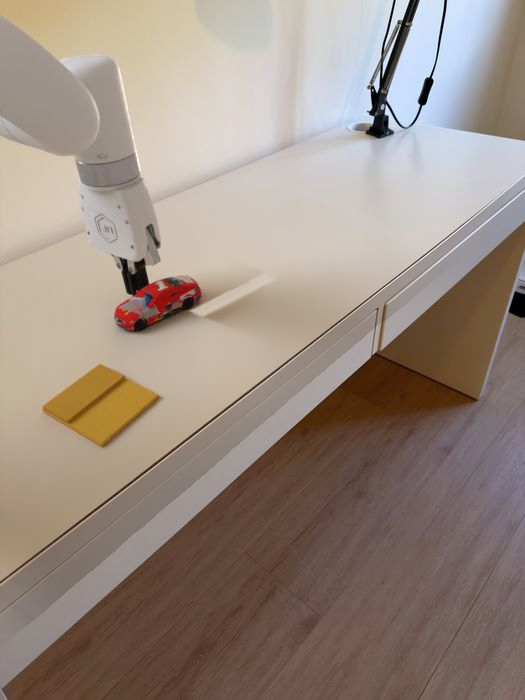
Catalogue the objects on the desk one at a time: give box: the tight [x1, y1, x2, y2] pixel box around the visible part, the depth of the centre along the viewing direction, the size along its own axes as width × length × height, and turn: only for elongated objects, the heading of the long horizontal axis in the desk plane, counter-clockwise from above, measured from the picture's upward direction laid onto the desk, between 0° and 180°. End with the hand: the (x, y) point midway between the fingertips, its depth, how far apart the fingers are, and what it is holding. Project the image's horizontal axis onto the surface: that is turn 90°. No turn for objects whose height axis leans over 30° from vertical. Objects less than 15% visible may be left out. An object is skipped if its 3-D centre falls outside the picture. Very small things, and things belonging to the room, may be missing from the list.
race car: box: [113, 275, 202, 332], centre depth 75 cm, size 13×5×4 cm, turn 127°
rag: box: [41, 363, 160, 448], centre depth 61 cm, size 9×10×1 cm
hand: (138, 290), depth 78 cm, fingers closed
